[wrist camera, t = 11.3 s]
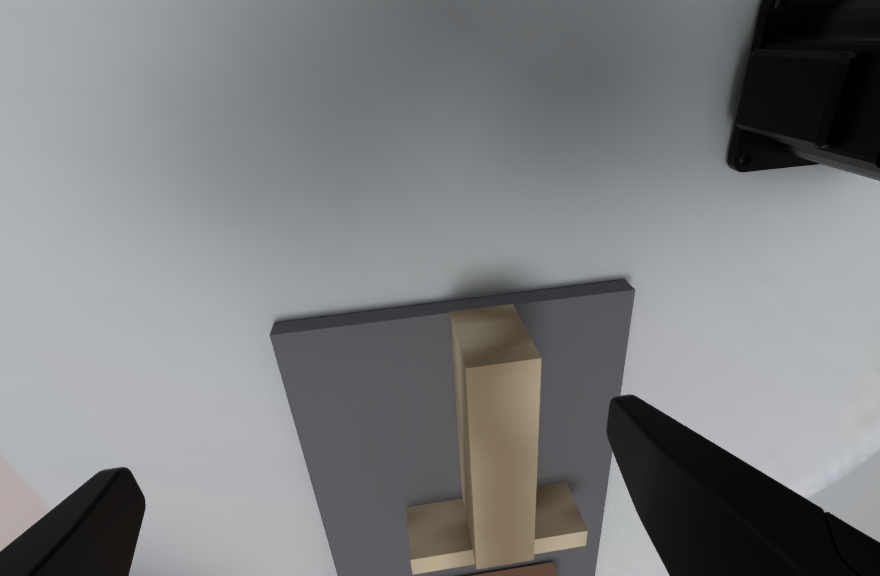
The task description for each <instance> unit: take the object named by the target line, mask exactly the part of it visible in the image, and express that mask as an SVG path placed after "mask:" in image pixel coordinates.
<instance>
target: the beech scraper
mask: <svg viewBox="0 0 880 576" xmlns="http://www.w3.org/2000/svg"><path fill="white" fill-rule="evenodd" d="M450 325H451V339H452V354H453V368H454V383H455V397H456V412H457V426H458V440H459V455H460V469H461V484H462V498H463V499H456V500H450V501H443V502H437V503H431V504H424V505H418V506H412V507H406V509H407V522H408V535H409V548H410V561H411V567H412V573H413V575H414V574H420V573H426V572H432V571H438V570H444V569H450V568H456V567H462V566H468V565H474V564H476V569H483V568H489V567H495V566H501V565H506V564H512V563H518V562H524V561H530V560H534V554H539V553H545V552H551V551H557V550H563V549H569V548H575V547H581V546H586V541H587V533H588V530H587V528H586V526H585V523H584V521H583V519H582V517H581V514H580V512H579V510H578V507H577V505H576V503H575V500H574V498H573V496H572V494H571V491H570V489H569V487H568V484H567V482H565V483H558V484H552V485H546V486H539V487H537V463H538V437H539V411H540V385H541V359H542V358H541V356H540V354H539V352H538V351H537V349H536V347H535V345H534V343H533V341H532V339H531V337H530V335H529V333H528V332H527V330H526V328H525V326H524V324H523V322H522V320H521V318H520V316H519V314H518V313H517V311H516V309H515V307H514V305H513V304H509V305H501V306H493V307H485V308H477V309H469V310H461V311H453V312H450Z"/></svg>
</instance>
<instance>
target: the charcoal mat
mask: <svg viewBox="0 0 880 576" xmlns="http://www.w3.org/2000/svg"><path fill="white" fill-rule="evenodd" d="M634 294H635V289H634V288H633V287H632V286H631V285H630V284H629V283H628V282H627V281H626V280H618V281H610V282H601V283H593V284H585V285H577V286H569V287H561V288H553V289H545V290H536V291H528V292H520V293H512V294H504V295H496V296H488V297H480V298H471V299H463V300H455V301H447V302H439V303H431V304H423V305H415V306H406V307H398V308H390V309H382V310H374V311H366V312H358V313H350V314H341V315H333V316H325V317H317V318H309V319H301V320H293V321H285V322H276V323H274V324H273V327H272V330H271V333H270V338H271V341H272V345H273V348H274V352H275V355H276V359H277V362H278V366H279V370H280V373H281V377H282V380H283V384H284V387H285V391H286V394H287V398H288V401H289V405H290V408H291V412H292V415H293V419H294V422H295V426H296V430H297V433H298V437H299V440H300V444H301V447H302V451H303V454H304V458H305V461H306V465H307V468H308V472H309V475H310V479H311V483H312V486H313V490H314V493H315V497H316V500H317V504H318V507H319V511H320V514H321V518H322V521H323V525H324V528H325V532H326V535H327V539H328V543H329V546H330V550H331V553H332V557H333V560H334V564H335V567H336V571H337V574H338V576H472V575H478V574H484V573H490V572H496V571H502V570H508V569H514V568H520V567H526V566H532V565H538V564H544V563H550V562H553V564H554V567H555V570H556V573H557V576H595V570H596V563H597V556H598V549H599V542H600V535H601V528H602V521H603V513H604V506H605V499H606V492H607V485H608V478H609V471H610V464H611V457H612V448H611V446H610V443H609V441H608V437H607V432H606V427H607V419H608V411H609V404H610V400H611V399H612V398H613V397H616V396H620V393H621V386H622V379H623V372H624V365H625V357H626V350H627V343H628V336H629V329H630V322H631V315H632V308H633V301H634ZM509 304H513V305H514V307H515V309H516V311H517V313H518V314H519V316H520V318H521V320H522V322H523V324H524V326H525V328H526V330H527V332H528V333H529V335H530V337H531V339H532V341H533V343H534V345H535V347H536V349H537V351H538V352H539V354H540V356H541V358H542V359H541V385H540V411H539V437H538V463H537V487H539V486H546V485H552V484H558V483H565V482H567V484H568V487H569V489H570V491H571V494H572V496H573V498H574V500H575V503H576V505H577V507H578V510H579V512H580V514H581V517H582V519H583V521H584V523H585V526H586V528H587V530H588V533H587V541H586V546H581V547H575V548H569V549H563V550H557V551H551V552H545V553H539V554H534V560H530V561H524V562H518V563H512V564H506V565H501V566H495V567H489V568H483V569H476V564H474V565H468V566H462V567H456V568H450V569H444V570H438V571H432V572H426V573H420V574H414V575H413V573H412V567H411V561H410V548H409V535H408V522H407V509H406V507H412V506H418V505H424V504H431V503H437V502H443V501H450V500H456V499H463V498H462V484H461V469H460V455H459V440H458V426H457V412H456V397H455V383H454V368H453V354H452V339H451V325H450V312H453V311H461V310H469V309H477V308H485V307H493V306H501V305H509Z"/></svg>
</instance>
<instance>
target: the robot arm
mask: <svg viewBox="0 0 880 576" xmlns="http://www.w3.org/2000/svg"><path fill="white" fill-rule="evenodd" d="M776 2H777V0H763V1H762V4H761V7H760V12H759V16H758V21H757V26H756V30H755V35H754V40H753V44H752V49H751V54H750V57H749V61H748V66H747V70H746V75H745V80H744V84H743V89H742V94H741V99H740V103H739V108H738V113H737V117H736V124H735V128H734V133H733V138H732V142H731V147H730V152H729V156H728V165H729V167H730V168H731V169H733V170H736V171H738V172H749V171H758V170H768V169H777V168H787V167H796V166H805V165H815V164H823V165H827V166H830V167H834V168H837V169H841V170H844V171H847V172H851V173H854V174H858V175H861V176H865V177H868V178H872V179H875V180H879V181H880V0H780V6H779V9H778V10H777V11H776V10H775V4H776ZM743 155H745V159H744V161H743V162H741V163H740V159H741V157H742V156H743ZM606 432H607V437H608V441H609V443H610V446H611V448H612V451H613V453H614V456H615V458H616V461H617V463H618V466H619V469H620V471H621V474H622V476H623V479H624V481H625V484H626V486H627V489H628V491H629V494H630V496H631V499H632V501H633V504H634V506H635V508H636V511H637V513H638V515H639V517H640V519H641V521H642V523H643V525H644V527H645V529H646V531H647V533H648V535H649V537H650V539H651V541H652V543H653V545H654V546H655V548H656V550H657V552H658V554H659V556H660V558H661V560H662V562H663V564H664V566H665V567H666V569H667V571H668V573H669V575H670V576H880V542H878V541H876V540H875V539H873V538H871V537H869V536H868V535H866V534H864V533H863V532H861V531H859V530H857V529H856V528H854V527H852V526H851V525H849V524H847V523H846V522H844V521H842V520H841V519H839V518H837V517H836V516H834V515H832V514H831V513H829V512H825V513H824V511H823V509H822V508H821V507H819V506H817V505H815V504H814V503H812V502H810V501H809V500H807V499H806V498H804V497H802V496H801V495H799V494H797V493H796V492H794V491H792V490H791V489H789V488H787V487H786V486H784V485H782V484H781V483H779V482H777V481H776V480H774V479H772V478H771V477H769V476H767V475H766V474H764V473H762V472H761V471H759V470H757V469H756V468H754V467H752V466H751V465H749V464H748V463H746V462H744V461H743V460H741V459H739V458H738V457H736V456H734V455H733V454H731V453H729V452H728V451H726V450H724V449H723V448H721V447H719V446H718V445H716V444H714V443H713V442H711V441H709V440H708V439H706V438H704V437H703V436H701V435H699V434H698V433H696V432H694V431H693V430H691V429H689V428H688V427H686V426H684V425H683V424H681V423H680V422H678V421H676V420H675V419H673V418H671V417H670V416H668V415H666V414H665V413H663V412H661V411H660V410H658V409H656V408H655V407H653V406H651V405H650V404H648V403H646V402H645V401H643V400H641V399H640V398H638V397H636V396H634V395H623V396H616V397H613V398H612V399H611V400H610V404H609V411H608V419H607V427H606ZM144 512H145V498H144V495H143V493H142V491H141V489H140V487H139V486H138V484H137V482H136V480H135V478H134V476H133V474H132V472H131V471H130V470H129V469H128V468H126V467H119V468H112V469H105V470H102V471H100V472H98V473H97V474H95V475H94V476H93V477H92V478H91V479H89V480H88V481H87V482H86V483H84V484H83V485H82V486H81V487H79V488H78V489H77V490H76V491H75V492H73V493H72V494H71V495H70V496H68V497H67V498H66V499H65V500H63V501H62V502H61V503H60V504H58V505H57V506H56V507H55V508H54V509H52V510H51V511H50V512H49V513H48V514H46V515H45V516H44V517H43V518H41V519H40V520H39V521H38V522H37V523H35V524H34V525H33V526H31V527H30V528H29V529H28V530H26V531H25V532H24V533H23V534H22V535H20V536H19V537H18V538H17V539H15V540H14V541H13V542H12V543H10V544H9V545H8V546H7V547H5V548H4V549H3V550H2V551H1V552H0V576H128V575H129V571H130V568H131V564H132V560H133V556H134V552H135V548H136V544H137V540H138V536H139V532H140V528H141V524H142V520H143V516H144Z"/></svg>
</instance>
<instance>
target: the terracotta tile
mask: <svg viewBox="0 0 880 576" xmlns="http://www.w3.org/2000/svg"><path fill="white" fill-rule="evenodd" d="M472 576H557V573H556V570H555V567H554V564H553V562H550V563H544V564H538V565H532V566H526V567H520V568H514V569H508V570H502V571H496V572H490V573H484V574H478V575H472Z"/></svg>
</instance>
